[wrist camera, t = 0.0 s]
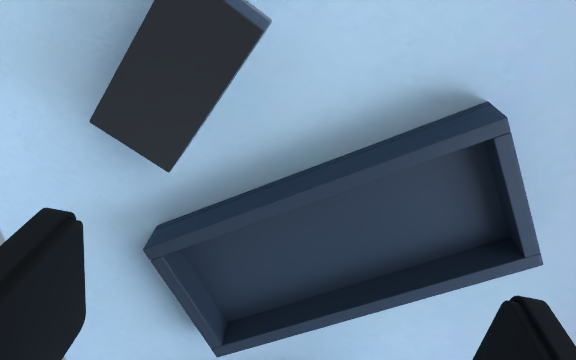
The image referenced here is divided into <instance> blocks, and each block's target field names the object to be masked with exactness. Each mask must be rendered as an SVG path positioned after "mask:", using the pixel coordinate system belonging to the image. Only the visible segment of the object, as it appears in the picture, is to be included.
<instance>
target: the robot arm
mask: <svg viewBox="0 0 576 360" xmlns="http://www.w3.org/2000/svg"><path fill="white" fill-rule="evenodd" d="M85 316H86V303H85V272H84V242H83V224H82V222H81V221H78V220H76V217H75V215H74V213H72V212H67V211H62V210H57V209H51V208H43V209H42V210H40V211H39V212H38V213H37V214H36V215H35V216H33V217H32V218H31V219H30V220H29V221H28V222H27V223H26V224H24V225H23V226H22V227H21V228H20V229H19V230H18V231H17V232H15V233H14V234H13V235H12V236H11V237H10V238H9V239H8V240H6V241H5V242H4V243H3V244H2V245H1V246H0V360H62V358H63V357H64V355H65V354H66V352H67V351H68V349H69V348H70V346H71V344H72V343H73V341H74V340H75V338H76V337H77V335H78V334H79V332H80V330H81V329H82V326H83V324H84V321H85ZM473 360H576V346H575V345H574V343H573V342H572V340H571V339H570V337H569V336H568V334H567V333H566V331H565V330H564V328H563V327H562V325H561V324H560V322H559V321H558V319H557V318H556V316H555V315H554V313H553V312H552V310H551V309H550V307H549V306H548V305H547V304H546V302H544V301H542V300H538V299H532V298H527V297H522V296H514V297H512V298H511V299H510V301H505V302H503V303H502V305H501V306H500V308H499V310H498V312H497V314H496V316H495V318H494V320H493V322H492V324H491V326H490V327H489V329H488V331H487V333H486V335H485V337H484V339H483V341H482V343H481V345H480V346H479V348H478V350H477V352H476V354H475V356H474V358H473Z"/></svg>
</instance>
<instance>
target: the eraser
mask: <svg viewBox="0 0 576 360" xmlns="http://www.w3.org/2000/svg"><path fill="white" fill-rule="evenodd" d="M271 22H272V20H271V19H270V18H269V17H267V16H266V15H265V14H263V13H262V12H261V11H259V10H258V9H257V8H256V7H254V6H253V5H252V4H250V3H249V2H248V1H246V0H154V2H153V4H152V6H151V8H150V10H149V11H148V13H147V15H146V17H145V19H144V21H143V23H142V24H141V26H140V28H139V30H138V32H137V34H136V36H135V37H134V39H133V41H132V43H131V45H130V47H129V49H128V50H127V52H126V54H125V56H124V58H123V60H122V61H121V63H120V65H119V67H118V69H117V71H116V73H115V74H114V76H113V78H112V80H111V82H110V84H109V86H108V87H107V89H106V91H105V93H104V95H103V97H102V99H101V100H100V102H99V104H98V106H97V108H96V110H95V112H94V113H93V115H92V117H91V119H90V123H92V124H93V125H95V126H96V127H98V128H100V129H101V130H103V131H104V132H106V133H107V134H109V135H111V136H112V137H114V138H115V139H117V140H118V141H120V142H122V143H123V144H125V145H126V146H128V147H129V148H131V149H133V150H134V151H136V152H137V153H139V154H140V155H142V156H143V157H145V158H147V159H148V160H150V161H151V162H153V163H154V164H156V165H158V166H159V167H161V168H162V169H164V170H165V171H167V172H170V171H171V169H172V168H173V167H174V165H175V164H176V162H177V161H178V160H179V158H180V157H181V155H182V154H183V153H184V151H185V150H186V148H187V147H188V145H189V144H190V143H191V141H192V140H193V138H194V137H195V135H196V134H197V132H198V131H199V129H200V128H201V126H202V125H203V123H204V122H205V120H206V119H207V117H208V116H209V114H210V113H211V111H212V110H213V108H214V107H215V105H216V104H217V102H218V101H219V99H220V98H221V97H222V95H223V94H224V92H225V91H226V89H227V88H228V86H229V85H230V83H231V82H232V80H233V79H234V77H235V76H236V74H237V73H238V71H239V70H240V68H241V67H242V65H243V64H244V62H245V61H246V59H247V58H248V56H249V55H250V53H251V52H252V50H253V49H254V47H255V46H256V45H257V43H258V42H259V40H260V39H261V37H262V36H263V34H264V33H265V31H266V30H267V28H268V27H269V25H270V24H271Z"/></svg>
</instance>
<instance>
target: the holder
mask: <svg viewBox="0 0 576 360" xmlns="http://www.w3.org/2000/svg"><path fill="white" fill-rule="evenodd" d="M143 251H144V252H145V254H146V255H147V256H148V258H149V259H150V260H151V262H152V264H153V265H154V266H155V268H156V269H157V271H158V272H159V274H160V275H161V277H162V278H163V279H164V281H165V282H166V284H167V285H168V287H169V288H170V290H171V291H172V293H173V294H174V295H175V297H176V298H177V300H178V301H179V303H180V304H181V306H182V307H183V308H184V310H185V311H186V313H187V314H188V316H189V317H190V319H191V320H192V321H193V323H194V324H195V326H196V327H197V329H198V330H199V332H200V333H201V335H202V336H203V337H204V339H205V340H206V342H207V343H208V345H209V346H210V348H211V349H212V351H213V352H214V354H215V355H216V357H220V356H224V355H227V354H231V353H234V352H238V351H241V350H245V349H248V348H252V347H255V346H259V345H263V344H266V343H270V342H273V341H277V340H280V339H284V338H287V337H291V336H294V335H298V334H301V333H305V332H308V331H312V330H315V329H319V328H323V327H326V326H330V325H333V324H337V323H340V322H344V321H347V320H351V319H354V318H358V317H361V316H365V315H368V314H372V313H375V312H379V311H382V310H386V309H390V308H393V307H397V306H400V305H404V304H407V303H411V302H414V301H418V300H421V299H425V298H428V297H432V296H435V295H439V294H442V293H446V292H449V291H453V290H457V289H460V288H464V287H467V286H471V285H474V284H478V283H481V282H485V281H488V280H492V279H495V278H499V277H502V276H506V275H509V274H513V273H516V272H520V271H524V270H527V269H531V268H534V267H538V266H541V265H543V261H542V257H541V253H540V249H539V245H538V241H537V237H536V233H535V229H534V225H533V220H532V216H531V212H530V208H529V204H528V200H527V196H526V192H525V188H524V184H523V180H522V176H521V172H520V168H519V163H518V159H517V155H516V151H515V147H514V143H513V139H512V135H511V132H510V127H509V123H508V119H507V117H506V116H505V115H504V114H502V113H501V112H500V111H499V110H498V109H496V108H495V107H494V106H493V105H492V104H491V103H489V102H485V103H483V104H480V105H477V106H475V107H472V108H469V109H467V110H464V111H461V112H459V113H456V114H453V115H451V116H448V117H445V118H443V119H440V120H437V121H435V122H432V123H429V124H427V125H424V126H421V127H419V128H416V129H413V130H411V131H408V132H406V133H403V134H400V135H398V136H395V137H392V138H390V139H387V140H384V141H382V142H379V143H376V144H374V145H371V146H368V147H366V148H363V149H360V150H358V151H355V152H352V153H350V154H347V155H344V156H342V157H339V158H336V159H334V160H331V161H328V162H326V163H323V164H320V165H318V166H315V167H312V168H310V169H307V170H304V171H302V172H299V173H296V174H294V175H291V176H288V177H286V178H283V179H280V180H278V181H275V182H272V183H270V184H267V185H264V186H262V187H259V188H256V189H254V190H251V191H248V192H246V193H243V194H240V195H238V196H235V197H232V198H230V199H227V200H224V201H222V202H219V203H216V204H214V205H211V206H208V207H206V208H203V209H200V210H198V211H195V212H192V213H190V214H187V215H184V216H182V217H179V218H176V219H174V220H171V221H168V222H166V223H163V224H160V225H158V226H157V227H156V229H155V231H154V232H153V234H152V235H151V237H150V239H149V240H148V242H147V244H146V245H145V247H144V248H143Z"/></svg>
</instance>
